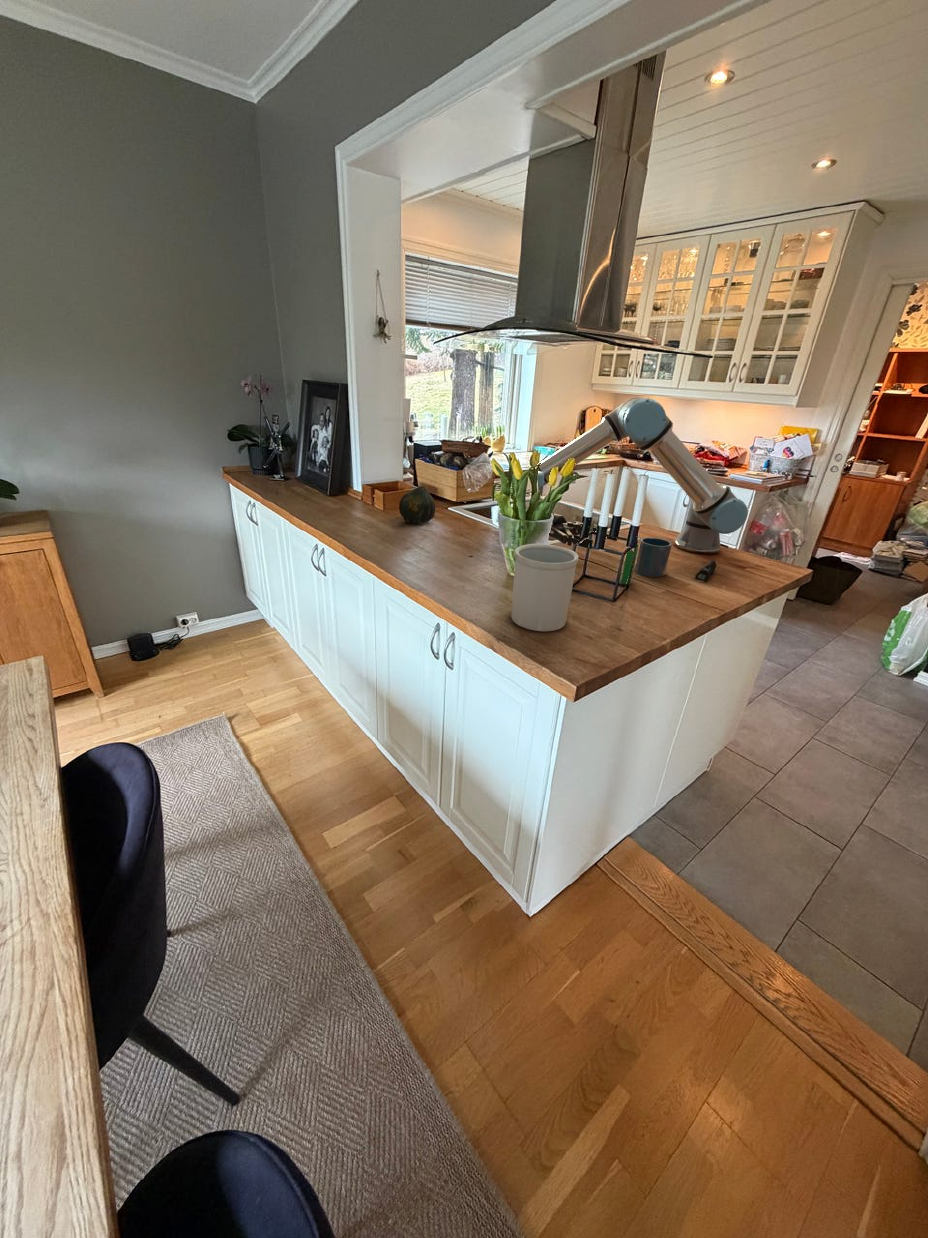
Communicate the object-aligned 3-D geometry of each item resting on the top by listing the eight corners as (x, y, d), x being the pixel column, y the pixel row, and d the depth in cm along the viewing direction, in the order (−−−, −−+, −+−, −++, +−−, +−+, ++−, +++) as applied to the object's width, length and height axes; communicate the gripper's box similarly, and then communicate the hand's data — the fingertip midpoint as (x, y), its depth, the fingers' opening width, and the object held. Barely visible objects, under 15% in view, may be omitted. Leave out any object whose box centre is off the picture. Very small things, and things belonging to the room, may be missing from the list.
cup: (663, 569, 158) (670, 539, 153) (665, 578, 150) (672, 547, 146) (635, 565, 160) (641, 536, 156) (634, 574, 152) (641, 544, 148)
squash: (386, 509, 193) (410, 482, 186) (402, 503, 206) (424, 478, 199) (411, 535, 194) (435, 510, 187) (425, 527, 207) (448, 504, 200)
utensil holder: (526, 601, 131) (532, 539, 123) (578, 617, 123) (588, 551, 115) (498, 621, 120) (503, 553, 112) (553, 639, 112) (562, 568, 104)
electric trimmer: (718, 570, 160) (720, 561, 158) (706, 582, 148) (709, 573, 147) (706, 567, 162) (708, 558, 160) (693, 579, 150) (696, 570, 149)
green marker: (630, 581, 147) (640, 537, 141) (630, 585, 144) (640, 539, 138) (620, 580, 148) (629, 535, 141) (620, 583, 145) (629, 538, 139)
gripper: (571, 529, 171) (624, 545, 157) (524, 541, 155) (578, 560, 141) (574, 508, 167) (629, 522, 153) (526, 518, 152) (582, 535, 138)
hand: (604, 540), depth 147 cm, fingers open, 13 cm apart
